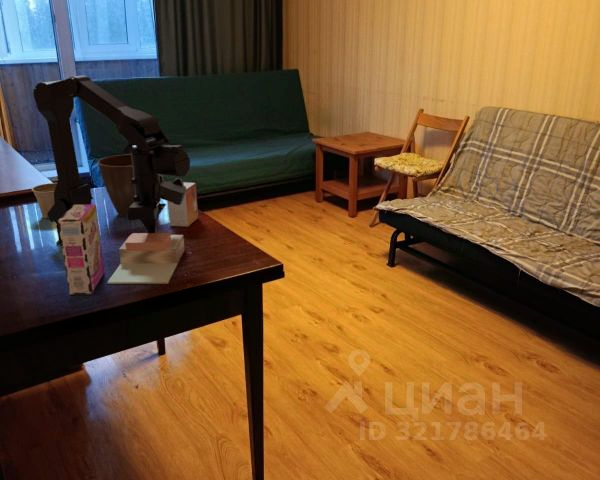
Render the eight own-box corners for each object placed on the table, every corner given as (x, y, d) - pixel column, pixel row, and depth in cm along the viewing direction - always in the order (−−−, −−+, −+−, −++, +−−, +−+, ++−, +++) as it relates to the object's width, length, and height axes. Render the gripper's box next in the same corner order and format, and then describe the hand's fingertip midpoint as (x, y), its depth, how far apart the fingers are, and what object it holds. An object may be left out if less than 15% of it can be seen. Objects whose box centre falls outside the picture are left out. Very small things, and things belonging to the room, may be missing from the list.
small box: (188, 227, 154) (185, 190, 150) (169, 226, 155) (165, 189, 151) (198, 218, 161) (196, 182, 157) (180, 216, 162) (177, 181, 158)
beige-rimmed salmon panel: (126, 250, 128) (125, 242, 127) (133, 241, 133) (132, 233, 132) (165, 250, 128) (164, 242, 127) (171, 240, 133) (170, 233, 132)
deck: (121, 265, 130) (118, 249, 129) (131, 250, 138) (129, 235, 137) (177, 264, 130) (175, 248, 129) (184, 250, 138) (183, 234, 137)
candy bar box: (93, 294, 116) (82, 220, 110) (69, 296, 116) (55, 220, 110) (106, 272, 126) (96, 202, 120) (83, 273, 126) (72, 203, 120)
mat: (107, 283, 121) (107, 282, 121) (121, 265, 130) (120, 263, 130) (167, 283, 121) (167, 281, 121) (177, 264, 130) (177, 263, 130)
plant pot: (149, 202, 175) (144, 152, 169) (164, 215, 163) (159, 161, 157) (100, 210, 168) (92, 157, 162) (111, 224, 156) (104, 168, 150)
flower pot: (78, 214, 165) (74, 185, 162) (50, 223, 158) (44, 193, 154) (58, 208, 170) (53, 181, 166) (30, 217, 162) (24, 188, 159)
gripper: (173, 183, 119) (179, 250, 125) (188, 162, 137) (193, 222, 142) (121, 183, 119) (129, 251, 125) (142, 162, 137) (149, 223, 142)
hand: (153, 236), depth 134 cm, fingers closed
